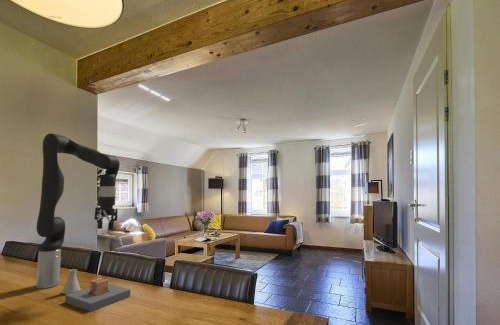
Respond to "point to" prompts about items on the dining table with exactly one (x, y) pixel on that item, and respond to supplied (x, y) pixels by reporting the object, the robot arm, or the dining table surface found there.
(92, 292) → the terracotta block
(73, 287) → the flask
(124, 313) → the dining table surface
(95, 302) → the charcoal base
